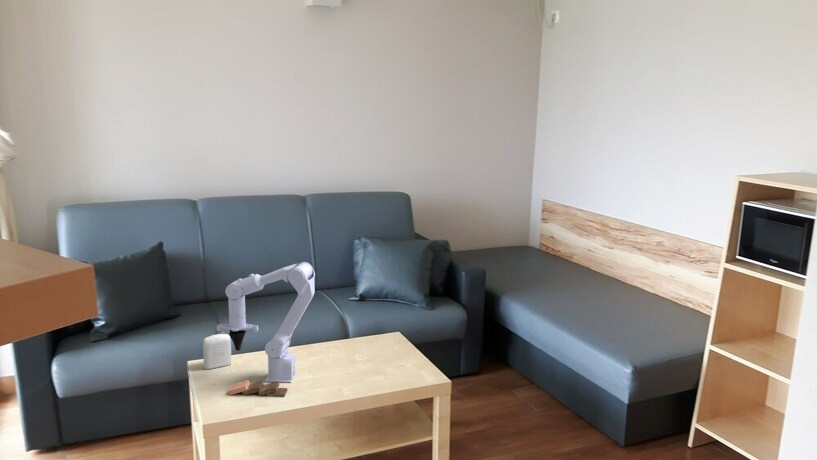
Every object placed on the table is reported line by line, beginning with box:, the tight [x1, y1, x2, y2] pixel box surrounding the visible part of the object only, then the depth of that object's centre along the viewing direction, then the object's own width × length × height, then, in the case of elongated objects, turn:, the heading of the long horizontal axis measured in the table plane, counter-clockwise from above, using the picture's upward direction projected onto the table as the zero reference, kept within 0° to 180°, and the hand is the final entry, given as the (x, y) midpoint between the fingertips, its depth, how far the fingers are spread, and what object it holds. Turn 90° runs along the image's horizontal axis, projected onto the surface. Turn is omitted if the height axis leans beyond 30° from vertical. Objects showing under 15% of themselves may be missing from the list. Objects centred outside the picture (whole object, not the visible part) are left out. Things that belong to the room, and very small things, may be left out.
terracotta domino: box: [228, 379, 251, 396], centre depth 212 cm, size 2×5×6 cm
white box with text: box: [202, 333, 232, 370], centre depth 231 cm, size 10×4×12 cm, turn 123°
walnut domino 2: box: [258, 381, 280, 397], centre depth 212 cm, size 2×5×6 cm
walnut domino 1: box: [241, 380, 264, 396], centre depth 212 cm, size 2×5×6 cm
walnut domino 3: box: [266, 387, 288, 398], centre depth 212 cm, size 2×5×6 cm
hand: (238, 349), depth 224 cm, fingers closed
